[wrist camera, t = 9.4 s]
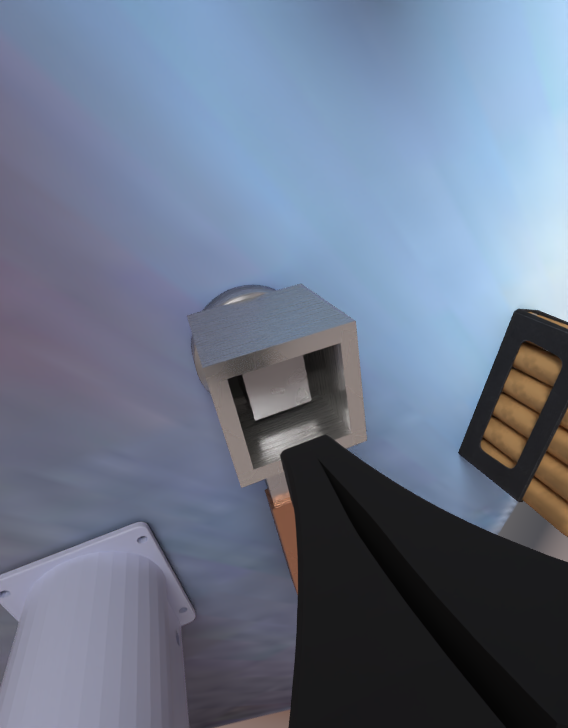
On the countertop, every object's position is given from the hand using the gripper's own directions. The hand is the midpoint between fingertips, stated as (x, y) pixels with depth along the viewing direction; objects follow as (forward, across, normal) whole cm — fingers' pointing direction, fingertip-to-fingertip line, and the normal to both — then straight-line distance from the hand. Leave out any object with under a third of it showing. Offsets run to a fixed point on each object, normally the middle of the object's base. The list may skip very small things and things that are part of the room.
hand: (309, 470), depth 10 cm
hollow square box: (+8, -1, 0) cm, 8 cm away
